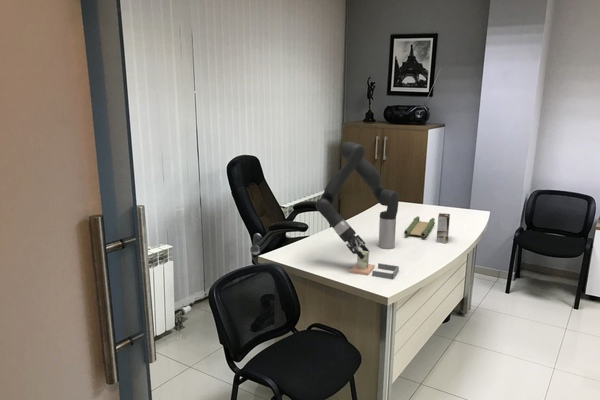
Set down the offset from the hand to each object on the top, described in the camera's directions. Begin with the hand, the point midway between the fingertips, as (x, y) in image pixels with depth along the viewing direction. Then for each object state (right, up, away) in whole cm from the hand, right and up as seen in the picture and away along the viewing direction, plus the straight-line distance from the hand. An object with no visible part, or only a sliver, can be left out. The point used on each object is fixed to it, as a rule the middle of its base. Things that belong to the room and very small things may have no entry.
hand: (365, 255), depth 224 cm
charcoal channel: (+9, -8, -2) cm, 12 cm away
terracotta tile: (-1, -7, +2) cm, 8 cm away
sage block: (-1, -6, +2) cm, 7 cm away
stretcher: (+45, +7, +70) cm, 83 cm away
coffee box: (+53, +3, +49) cm, 72 cm away
